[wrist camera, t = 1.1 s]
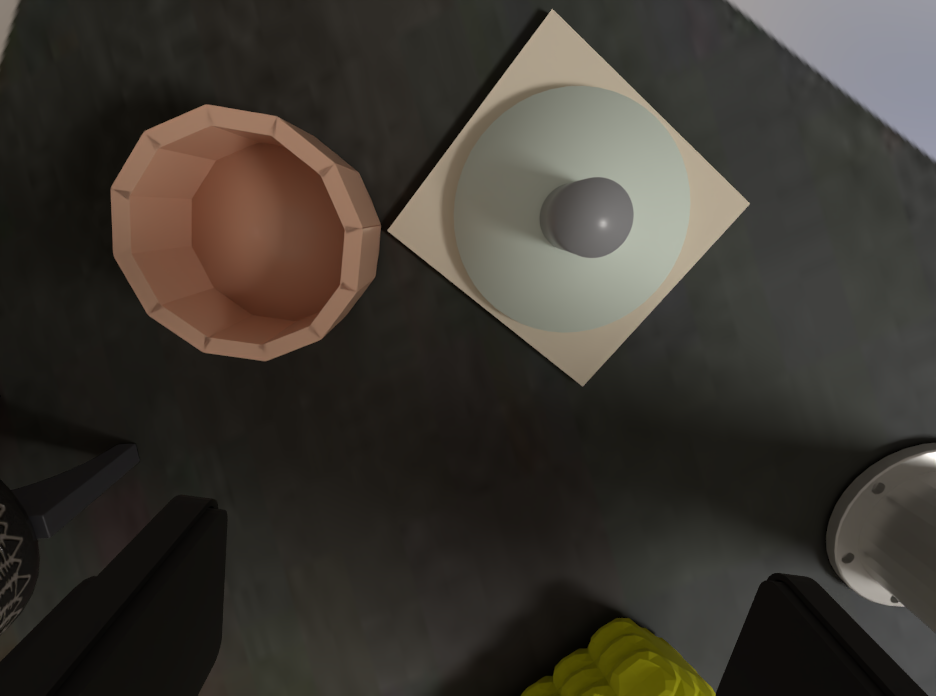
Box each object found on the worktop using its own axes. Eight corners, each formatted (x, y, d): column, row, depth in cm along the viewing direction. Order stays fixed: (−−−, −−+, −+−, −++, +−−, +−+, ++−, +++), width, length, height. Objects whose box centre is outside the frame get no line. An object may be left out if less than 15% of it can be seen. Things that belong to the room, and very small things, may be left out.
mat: (743, 204, 28) (749, 203, 27) (580, 383, 31) (582, 386, 30) (550, 13, 25) (552, 8, 24) (388, 230, 28) (387, 230, 27)
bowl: (418, 220, 28) (408, 223, 22) (309, 364, 30) (275, 401, 24) (252, 85, 25) (193, 48, 20) (148, 250, 28) (67, 260, 22)
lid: (731, 199, 27) (793, 196, 22) (576, 371, 30) (600, 403, 25) (560, 32, 25) (587, -14, 20) (406, 235, 27) (396, 240, 22)
